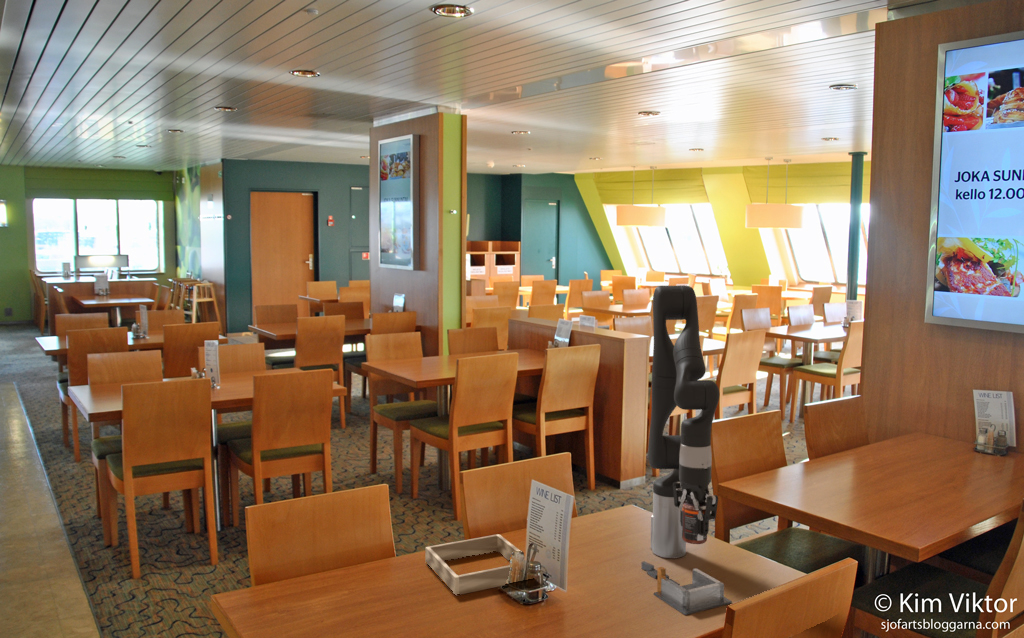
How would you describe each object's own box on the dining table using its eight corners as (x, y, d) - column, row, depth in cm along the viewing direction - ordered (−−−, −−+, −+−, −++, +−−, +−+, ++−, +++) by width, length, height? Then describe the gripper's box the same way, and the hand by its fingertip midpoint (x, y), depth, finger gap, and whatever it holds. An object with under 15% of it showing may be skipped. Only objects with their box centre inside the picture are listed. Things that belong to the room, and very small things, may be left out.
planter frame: (425, 563, 206) (425, 547, 205) (499, 549, 215) (499, 534, 215) (455, 595, 186) (455, 577, 186) (534, 578, 195) (534, 561, 195)
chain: (639, 568, 202) (639, 562, 201) (646, 567, 203) (646, 560, 202) (672, 589, 189) (672, 582, 189) (679, 587, 190) (679, 581, 190)
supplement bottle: (708, 546, 180) (708, 499, 179) (682, 544, 181) (683, 498, 181) (706, 537, 186) (707, 492, 185) (681, 535, 187) (682, 490, 186)
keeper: (653, 594, 186) (653, 568, 186) (698, 583, 192) (698, 558, 192) (684, 615, 175) (685, 588, 175) (731, 603, 181) (732, 576, 181)
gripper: (664, 457, 187) (663, 523, 188) (703, 471, 174) (702, 543, 175) (687, 453, 190) (686, 519, 192) (728, 467, 178) (726, 537, 179)
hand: (694, 530), depth 183 cm, fingers closed on supplement bottle, 6 cm apart
